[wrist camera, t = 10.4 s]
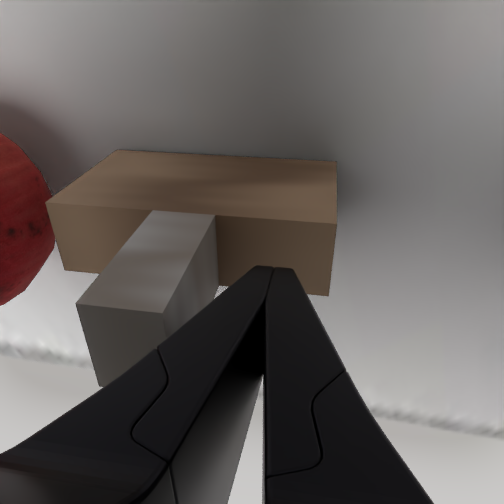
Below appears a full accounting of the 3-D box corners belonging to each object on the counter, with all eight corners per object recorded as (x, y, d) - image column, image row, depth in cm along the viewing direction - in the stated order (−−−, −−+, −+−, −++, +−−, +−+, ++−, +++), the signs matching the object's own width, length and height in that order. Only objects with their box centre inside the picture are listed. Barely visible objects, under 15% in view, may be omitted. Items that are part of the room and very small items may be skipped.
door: (336, 161, 13) (337, 332, 6) (330, 221, 14) (325, 418, 7) (116, 150, 14) (-72, 287, 7) (126, 206, 15) (-30, 368, 8)
